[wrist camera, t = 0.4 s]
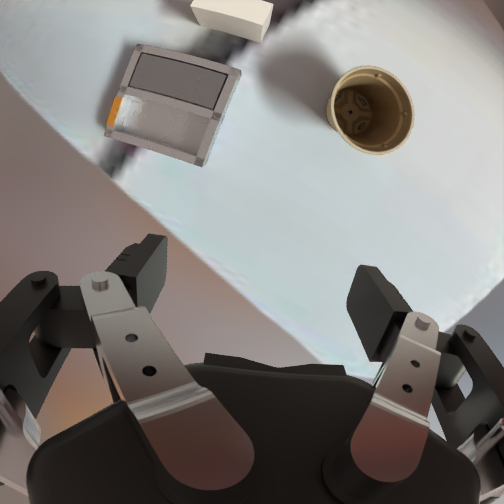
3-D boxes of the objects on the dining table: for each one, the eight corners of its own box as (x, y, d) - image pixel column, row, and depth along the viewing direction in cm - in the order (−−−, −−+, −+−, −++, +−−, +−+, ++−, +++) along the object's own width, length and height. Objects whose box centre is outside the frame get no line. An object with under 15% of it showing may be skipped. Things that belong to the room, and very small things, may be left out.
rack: (144, 49, 30) (134, 42, 26) (241, 75, 32) (240, 69, 28) (113, 134, 34) (101, 135, 30) (206, 163, 36) (201, 167, 32)
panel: (209, 7, 28) (201, -15, 21) (269, 24, 29) (273, 4, 22) (200, 25, 29) (190, 6, 22) (260, 43, 30) (262, 25, 23)
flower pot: (366, 160, 36) (395, 170, 28) (301, 129, 34) (316, 129, 26) (391, 99, 32) (425, 95, 24) (328, 65, 31) (349, 49, 23)
